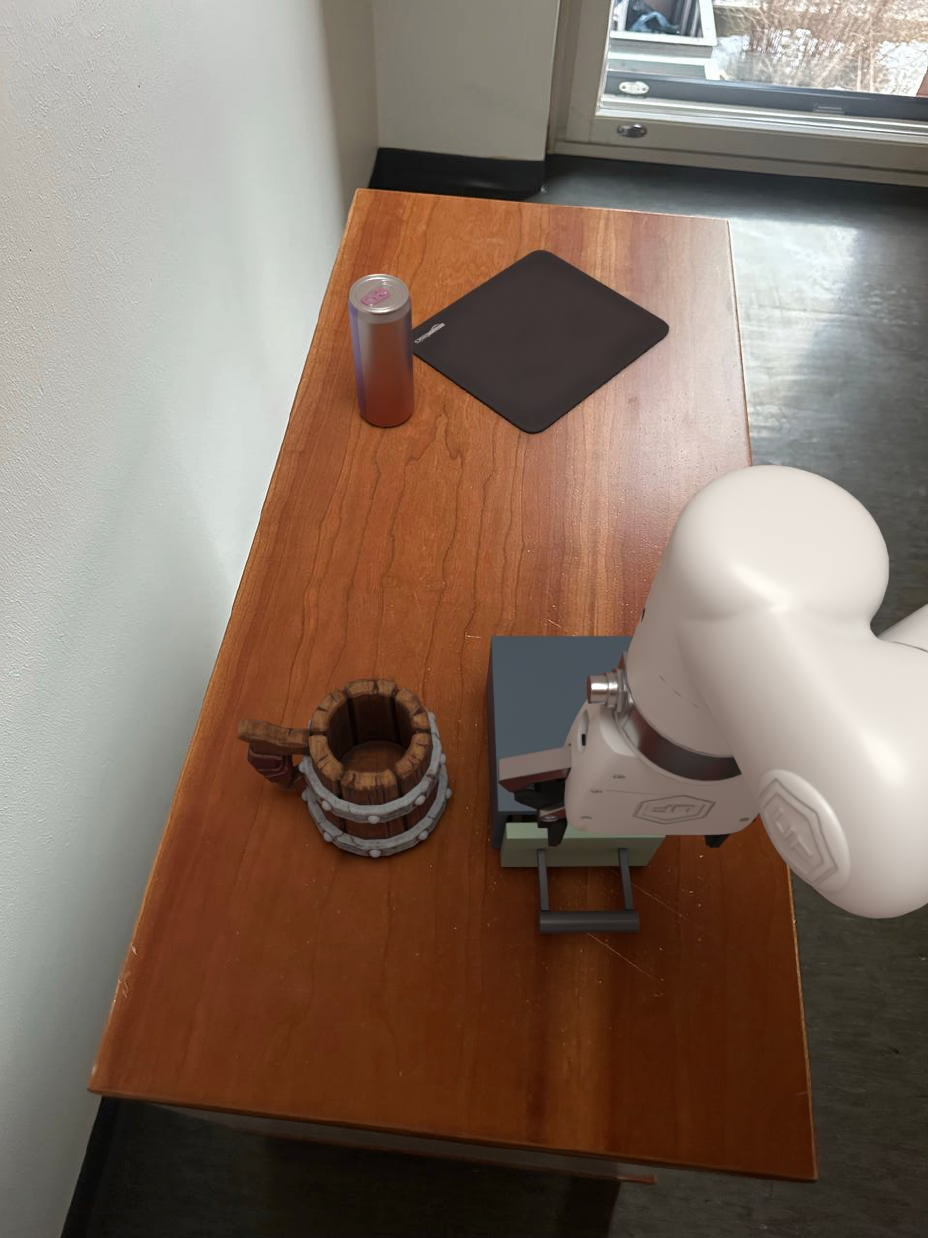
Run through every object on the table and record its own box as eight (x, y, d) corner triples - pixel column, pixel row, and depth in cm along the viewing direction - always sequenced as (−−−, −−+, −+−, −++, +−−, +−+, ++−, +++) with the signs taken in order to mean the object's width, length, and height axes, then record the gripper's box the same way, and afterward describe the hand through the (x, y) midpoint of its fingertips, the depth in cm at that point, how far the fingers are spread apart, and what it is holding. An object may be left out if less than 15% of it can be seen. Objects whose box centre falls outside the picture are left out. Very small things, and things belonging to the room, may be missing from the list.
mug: (464, 862, 70) (430, 793, 57) (288, 876, 71) (216, 812, 59) (459, 726, 76) (427, 636, 64) (297, 741, 78) (234, 657, 65)
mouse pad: (540, 247, 112) (540, 245, 112) (675, 328, 104) (675, 327, 104) (395, 340, 102) (395, 339, 102) (533, 438, 94) (533, 437, 94)
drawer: (656, 945, 66) (678, 923, 61) (503, 947, 66) (510, 925, 60) (627, 710, 77) (642, 671, 71) (494, 710, 76) (499, 672, 71)
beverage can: (347, 409, 96) (333, 292, 83) (387, 381, 98) (379, 263, 86) (386, 438, 94) (378, 322, 81) (425, 409, 96) (424, 292, 84)
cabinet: (649, 848, 71) (673, 810, 64) (491, 849, 71) (498, 811, 64) (628, 686, 79) (647, 635, 72) (486, 686, 79) (491, 635, 71)
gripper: (512, 771, 38) (491, 883, 53) (911, 775, 39) (780, 885, 53) (508, 623, 42) (489, 765, 57) (869, 628, 43) (758, 768, 57)
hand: (630, 823), depth 55 cm, fingers open, 9 cm apart
